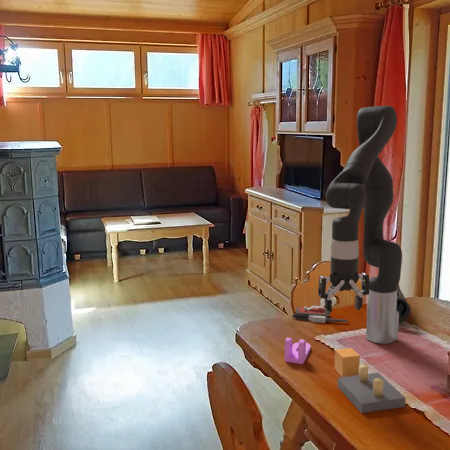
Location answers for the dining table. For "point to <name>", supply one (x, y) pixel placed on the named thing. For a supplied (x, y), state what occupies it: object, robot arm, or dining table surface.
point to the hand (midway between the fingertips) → (343, 310)
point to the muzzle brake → (402, 306)
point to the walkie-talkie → (315, 314)
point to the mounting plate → (370, 391)
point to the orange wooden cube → (347, 362)
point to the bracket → (296, 351)
